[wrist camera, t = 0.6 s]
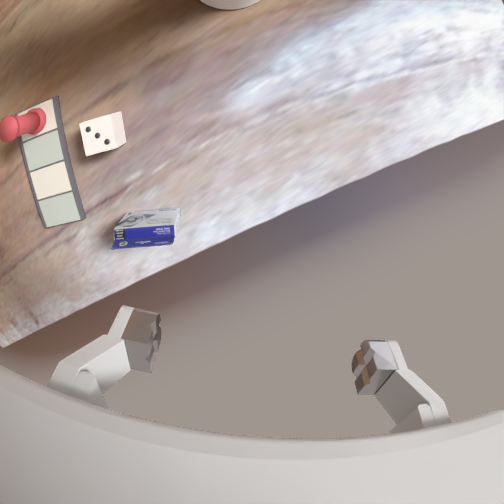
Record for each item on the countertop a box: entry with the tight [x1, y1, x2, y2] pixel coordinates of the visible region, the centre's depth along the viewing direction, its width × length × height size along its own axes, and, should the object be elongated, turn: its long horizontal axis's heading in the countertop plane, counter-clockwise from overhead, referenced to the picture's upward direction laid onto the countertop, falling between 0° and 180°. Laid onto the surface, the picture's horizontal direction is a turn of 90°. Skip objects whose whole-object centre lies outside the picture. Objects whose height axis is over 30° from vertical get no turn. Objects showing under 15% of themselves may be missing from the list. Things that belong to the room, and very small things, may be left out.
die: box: [79, 112, 126, 156], centre depth 44 cm, size 6×6×6 cm
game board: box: [15, 96, 86, 228], centre depth 47 cm, size 26×11×1 cm, turn 5°
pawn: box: [0, 108, 46, 142], centre depth 37 cm, size 5×5×10 cm
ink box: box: [111, 208, 181, 250], centre depth 51 cm, size 12×2×12 cm, turn 91°
